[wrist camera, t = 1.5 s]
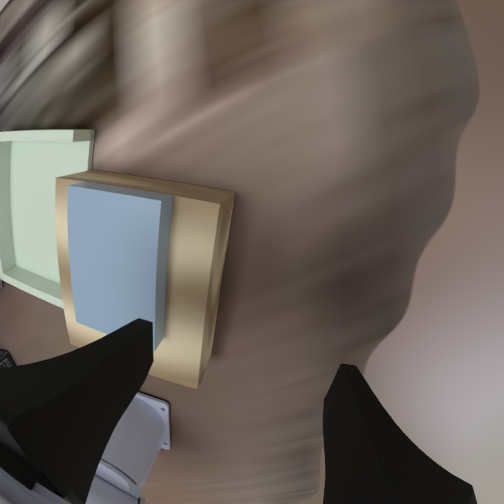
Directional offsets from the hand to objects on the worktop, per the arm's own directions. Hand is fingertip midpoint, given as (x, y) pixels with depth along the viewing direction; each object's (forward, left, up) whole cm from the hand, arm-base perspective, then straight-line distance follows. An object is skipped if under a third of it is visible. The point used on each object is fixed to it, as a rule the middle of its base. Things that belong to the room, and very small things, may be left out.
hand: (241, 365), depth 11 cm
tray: (0, +19, -10) cm, 22 cm away
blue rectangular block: (0, +8, -6) cm, 10 cm away
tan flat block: (-2, +8, -10) cm, 13 cm away
